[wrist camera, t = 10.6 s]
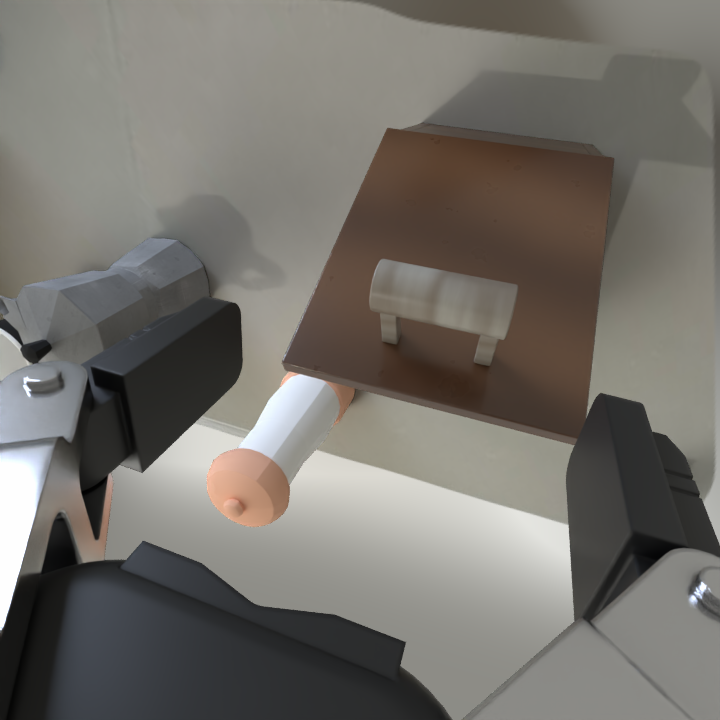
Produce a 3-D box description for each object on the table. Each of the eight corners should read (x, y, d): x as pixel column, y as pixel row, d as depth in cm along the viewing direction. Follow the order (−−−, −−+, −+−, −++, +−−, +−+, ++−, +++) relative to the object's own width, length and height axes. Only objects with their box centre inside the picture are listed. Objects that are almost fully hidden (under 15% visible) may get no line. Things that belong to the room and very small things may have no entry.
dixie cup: (70, 273, 56) (-21, 309, 47) (121, 323, 57) (42, 368, 48) (47, 311, 60) (-40, 351, 51) (95, 357, 61) (19, 404, 52)
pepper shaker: (306, 414, 55) (213, 546, 39) (283, 358, 52) (172, 477, 36) (364, 407, 52) (288, 548, 36) (342, 348, 49) (249, 473, 33)
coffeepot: (118, 287, 54) (-39, 362, 40) (124, 210, 49) (-54, 264, 34) (236, 348, 54) (120, 450, 39) (255, 277, 48) (130, 362, 33)
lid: (577, 446, 19) (634, 387, 14) (284, 370, 22) (252, 300, 17) (609, 169, 26) (653, 71, 21) (387, 139, 29) (384, 46, 24)
